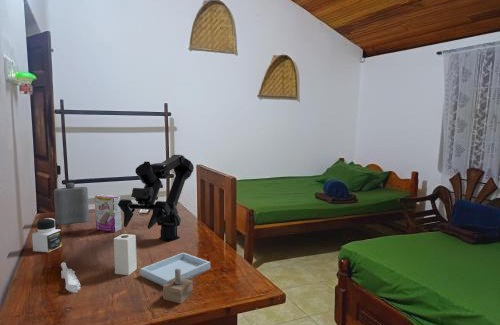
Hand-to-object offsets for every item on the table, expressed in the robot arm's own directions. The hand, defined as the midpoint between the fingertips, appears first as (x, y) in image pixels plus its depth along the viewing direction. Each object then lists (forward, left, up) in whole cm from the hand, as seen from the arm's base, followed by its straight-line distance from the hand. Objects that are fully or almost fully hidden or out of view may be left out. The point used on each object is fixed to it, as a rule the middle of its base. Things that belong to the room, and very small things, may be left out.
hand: (136, 227), depth 119 cm
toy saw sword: (+21, -6, -13) cm, 26 cm away
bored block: (+7, +3, -13) cm, 15 cm away
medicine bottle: (+15, -40, -13) cm, 44 cm away
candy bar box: (-13, -44, -13) cm, 48 cm away
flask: (-8, -70, -13) cm, 71 cm away
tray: (-3, +17, -13) cm, 22 cm away
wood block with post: (+7, +30, -13) cm, 34 cm away
